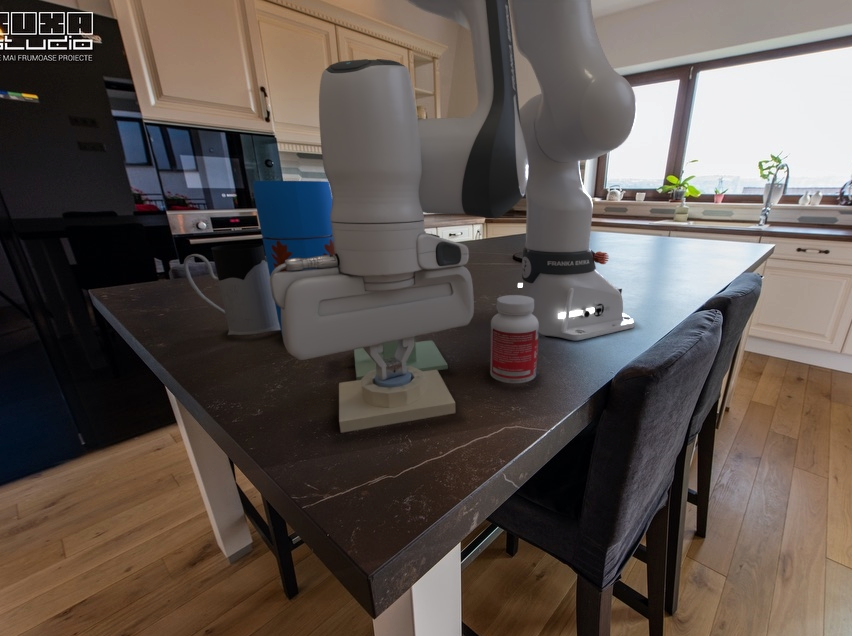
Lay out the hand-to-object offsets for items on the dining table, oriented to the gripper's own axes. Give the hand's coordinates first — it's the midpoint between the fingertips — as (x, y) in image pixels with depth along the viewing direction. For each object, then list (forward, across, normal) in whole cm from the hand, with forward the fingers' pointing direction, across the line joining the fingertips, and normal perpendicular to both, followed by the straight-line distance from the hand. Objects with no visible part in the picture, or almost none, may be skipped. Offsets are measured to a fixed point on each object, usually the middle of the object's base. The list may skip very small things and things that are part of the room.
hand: (391, 376), depth 44 cm
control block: (+4, 0, 0) cm, 4 cm away
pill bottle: (+4, +16, -2) cm, 17 cm away
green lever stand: (+4, +5, +11) cm, 13 cm away
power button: (+2, 0, 0) cm, 2 cm away
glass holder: (+4, -12, +41) cm, 43 cm away
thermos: (+4, -1, +31) cm, 31 cm away
